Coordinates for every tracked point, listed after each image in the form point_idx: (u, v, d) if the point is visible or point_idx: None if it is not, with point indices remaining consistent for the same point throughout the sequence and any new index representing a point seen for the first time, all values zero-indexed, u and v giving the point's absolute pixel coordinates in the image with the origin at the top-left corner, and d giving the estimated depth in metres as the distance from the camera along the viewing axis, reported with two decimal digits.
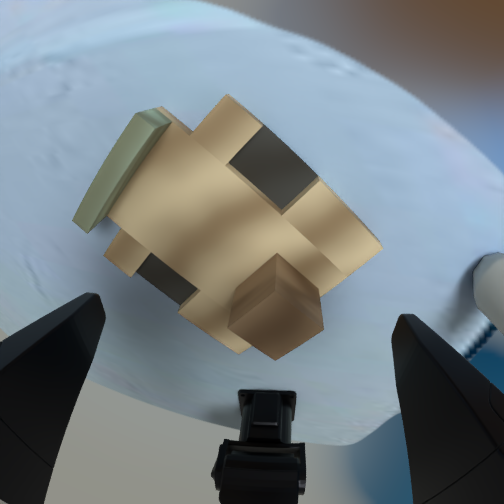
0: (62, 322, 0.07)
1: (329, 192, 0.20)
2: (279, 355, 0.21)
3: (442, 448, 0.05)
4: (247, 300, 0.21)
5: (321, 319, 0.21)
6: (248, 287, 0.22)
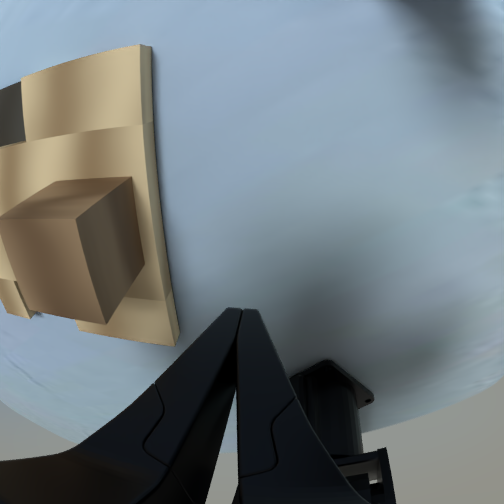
0: (228, 347, 0.07)
1: (34, 74, 0.10)
2: (97, 312, 0.11)
3: None
4: None
5: (86, 207, 0.10)
6: None
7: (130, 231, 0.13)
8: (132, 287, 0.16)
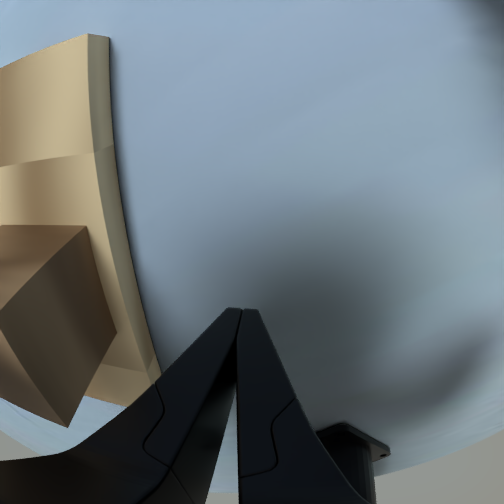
0: (228, 347, 0.07)
1: None
2: (53, 415, 0.07)
3: None
4: None
5: (13, 292, 0.06)
6: None
7: (90, 300, 0.09)
8: (105, 354, 0.12)
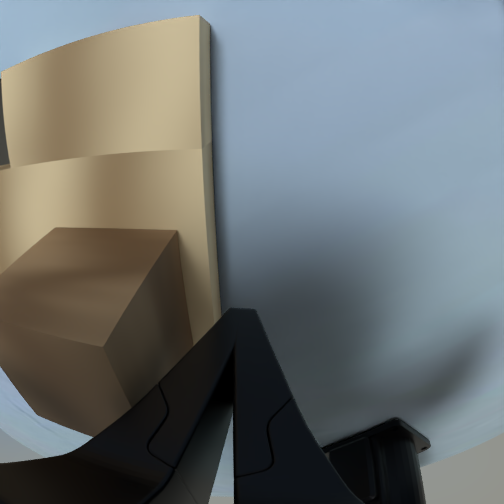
0: (231, 347, 0.07)
1: (19, 65, 0.06)
2: None
3: None
4: None
5: (118, 312, 0.06)
6: None
7: (177, 313, 0.09)
8: None
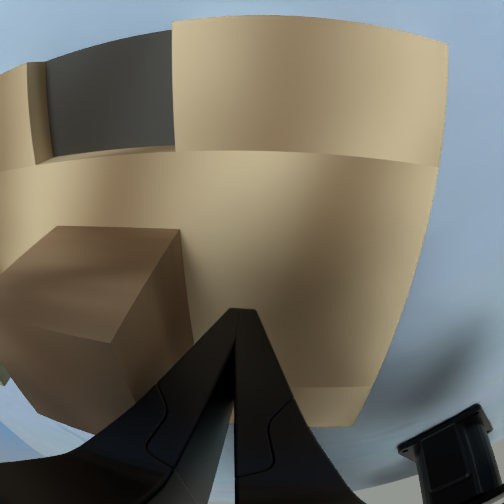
0: (230, 347, 0.07)
1: (213, 20, 0.06)
2: None
3: None
4: None
5: (125, 309, 0.06)
6: None
7: (179, 311, 0.09)
8: (334, 376, 0.11)
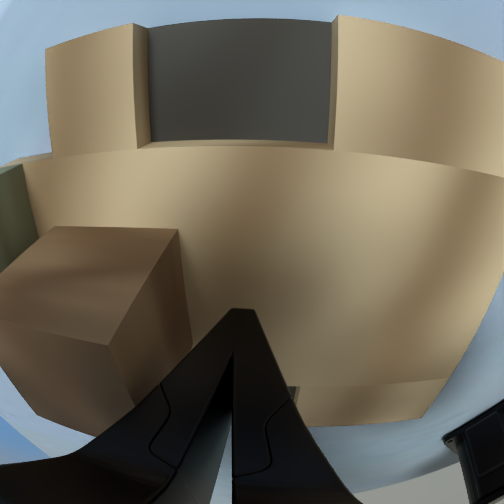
0: (232, 347, 0.07)
1: (380, 25, 0.05)
2: None
3: None
4: None
5: (122, 310, 0.06)
6: None
7: (178, 311, 0.09)
8: (423, 371, 0.11)
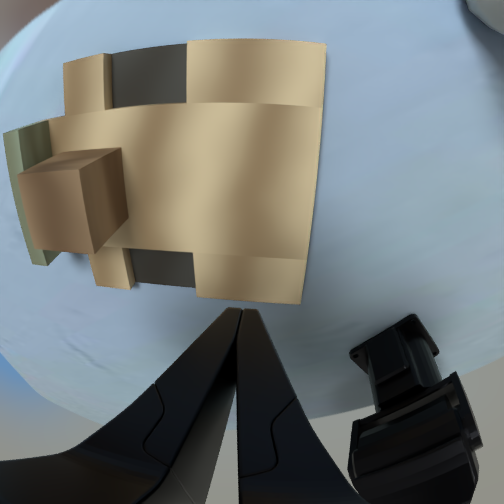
0: (228, 347, 0.07)
1: (206, 41, 0.13)
2: (88, 243, 0.14)
3: None
4: None
5: (87, 164, 0.13)
6: None
7: (118, 188, 0.17)
8: (278, 247, 0.19)
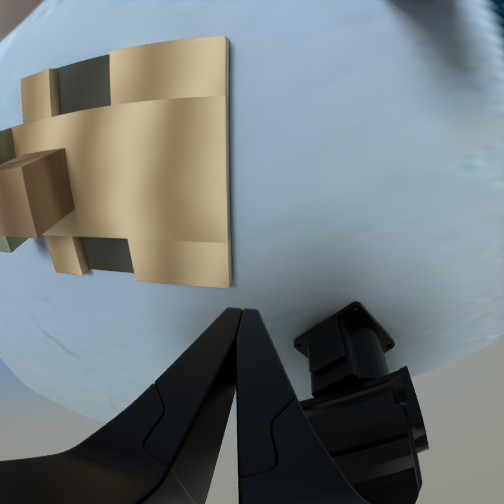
0: (228, 347, 0.07)
1: (124, 50, 0.14)
2: (32, 228, 0.15)
3: None
4: None
5: (30, 162, 0.14)
6: None
7: (62, 183, 0.18)
8: (199, 231, 0.20)
